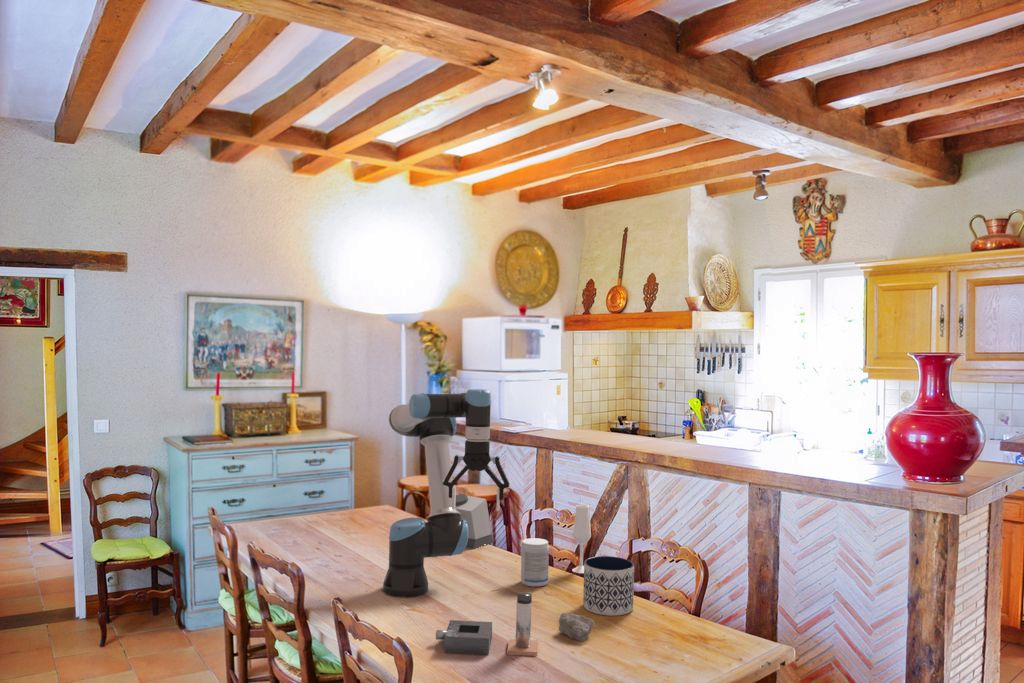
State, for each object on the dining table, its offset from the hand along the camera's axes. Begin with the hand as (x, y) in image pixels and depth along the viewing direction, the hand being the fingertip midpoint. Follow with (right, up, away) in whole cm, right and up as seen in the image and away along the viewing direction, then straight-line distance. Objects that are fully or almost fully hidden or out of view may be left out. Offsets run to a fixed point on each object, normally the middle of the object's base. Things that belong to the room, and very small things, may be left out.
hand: (475, 509), depth 232 cm
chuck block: (-2, -33, -22) cm, 39 cm away
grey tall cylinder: (+14, -32, -24) cm, 42 cm away
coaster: (+14, -33, -24) cm, 43 cm away
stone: (+29, -34, -13) cm, 47 cm away
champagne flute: (+37, -34, +50) cm, 71 cm away
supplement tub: (+19, -34, +34) cm, 51 cm away
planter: (+42, -34, +11) cm, 55 cm away
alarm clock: (-10, -33, +86) cm, 93 cm away
